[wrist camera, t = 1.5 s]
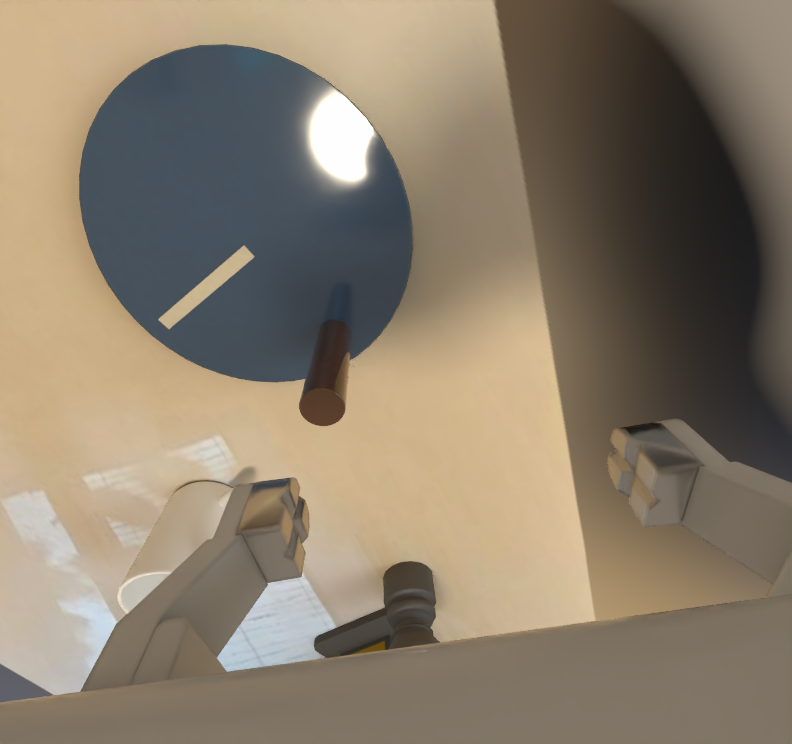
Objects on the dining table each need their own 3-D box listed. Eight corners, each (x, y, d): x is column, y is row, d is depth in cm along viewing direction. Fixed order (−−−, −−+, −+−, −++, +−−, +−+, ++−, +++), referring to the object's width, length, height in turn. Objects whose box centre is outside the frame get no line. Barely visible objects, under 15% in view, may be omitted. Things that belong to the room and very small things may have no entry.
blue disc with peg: (255, -57, 21) (161, -225, 12) (467, 273, 31) (513, 331, 21) (17, 208, 27) (-181, 244, 17) (260, 419, 36) (221, 517, 26)
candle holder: (437, 585, 51) (488, 906, 30) (392, 596, 52) (409, 919, 30) (424, 556, 48) (470, 891, 27) (376, 569, 49) (382, 906, 27)
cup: (155, 512, 42) (99, 609, 33) (214, 443, 38) (168, 532, 29) (226, 543, 45) (191, 640, 36) (287, 482, 41) (266, 574, 32)
